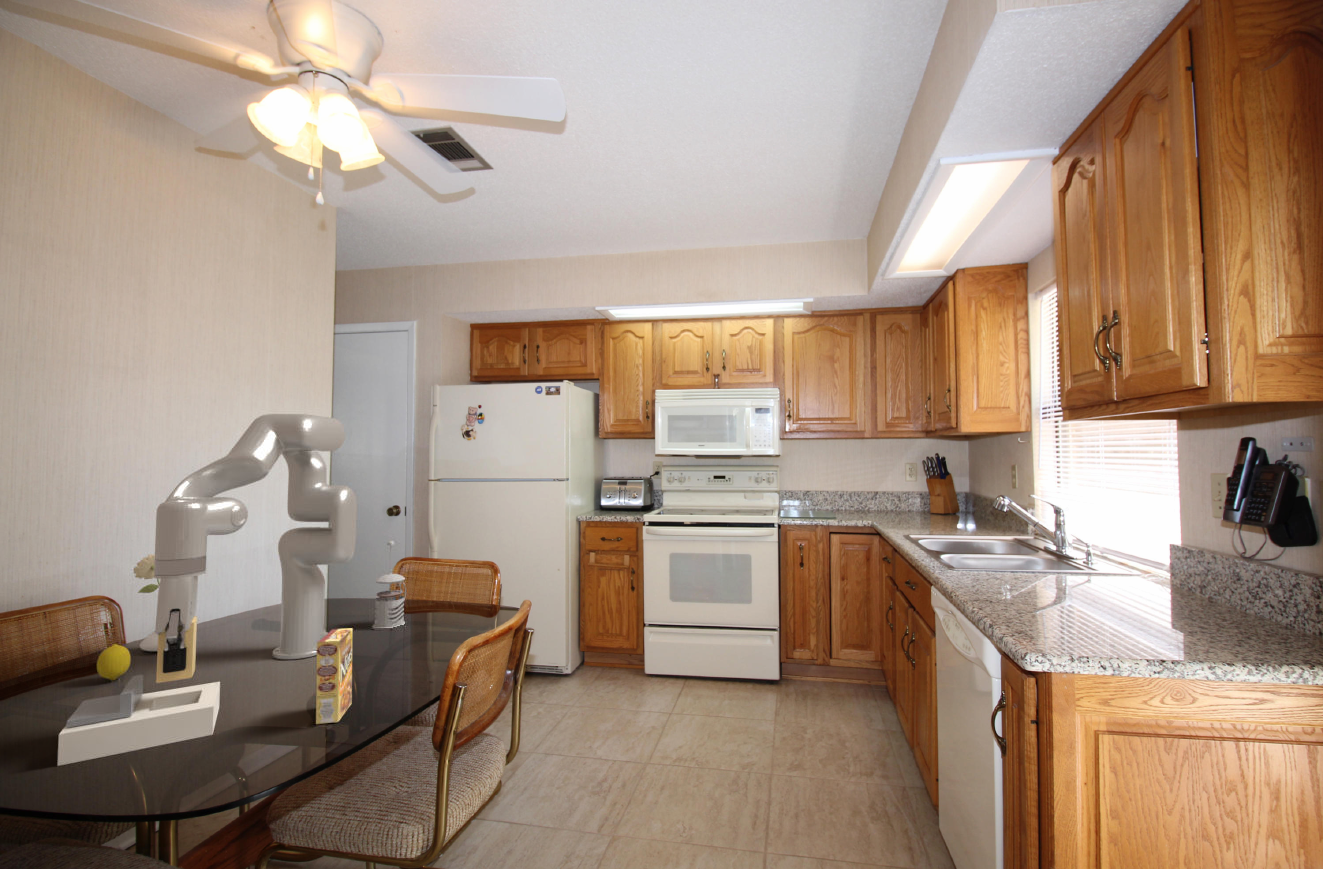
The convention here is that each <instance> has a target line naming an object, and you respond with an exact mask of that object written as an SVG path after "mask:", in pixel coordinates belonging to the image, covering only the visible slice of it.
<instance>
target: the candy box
mask: <svg viewBox="0 0 1323 869" xmlns="http://www.w3.org/2000/svg"><path fill="white" fill-rule="evenodd" d="M352 686H353V628H351V627H350V628H349V627H348V628H335V629H334V628H333V629H331V630H330V631H329V632H328V634H327V635H326V636H325V637H323V638H322V639H321V640H320V641H318V642H317V655H316V688H315V689H316V694H315V695H316V702H315V703H316V704H315V705H316V706H315V724H316V725H320V724H329V723H330V724H332V723H339V721H340V720H341V719H342V717H343V716H344V715H345V714H346V712H347V711H348V709H349V708H350V707H351V705H352V702H353V701H352V700H353V691H352V690H353V687H352Z"/></svg>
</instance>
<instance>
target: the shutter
mask: <svg viewBox="0 0 1323 869" xmlns="http://www.w3.org/2000/svg"><path fill="white" fill-rule="evenodd" d="M143 680H144V674H138V675H133V676H131V677H130V679H129V680H128V682H127V683H126V684H125V686H124V688H123V689H122V691H121V692H120V694H115V695H110V696H105V697H104V696H103V697H97V698H91V699H90V698H89V699H84V700H83V701H82V702H81V703H80V704H79V705H78V707H77V709H75V710H74V712H73V713H72V714H71V716H70V717H69V718H68V719H67V721H66V725H67V728H68V727H73V726H79V725H84V724H90V723H96V722H101V721H107V720H113V719H118V718H124V717H129V716H131V715H132V714H133V712H134V710H135V708H136V706H137V705H138V703H139V701H140V699H141V698H142V694H143V688H144V687H143V685H144V684H143V683H144V682H143Z"/></svg>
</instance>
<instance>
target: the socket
mask: <svg viewBox="0 0 1323 869" xmlns="http://www.w3.org/2000/svg"><path fill="white" fill-rule="evenodd" d="M220 691H221V681H215V682H210V683H203V684H197V685H196V684H195V685H190V686H185V687H179V688H173V689H166V690H160V691H155V692H154V691H153V692H148V693H142V698H141V699H140V701H139V703H138V705H137V706H136V708H135V710H134V712H133V714H132V715H131V716H129V717H124V718H118V719H113V720H107V721H101V722H96V723H90V724H84V725H79V726H73V727H68V728H67V724H66V725H65V726H64V727H63V728H62V730H61V731H60V733H58V745H57V746H58V748H57V767H59V766H60V767H61V766H64V765H69V764H74V763H79V762H83V761H89V760H95V759H98V758H104V757H109V756H114V755H119V754H124V753H128V752H129V753H130V752H134V751H139V750H144V749H147V748H153V747H154V748H155V747H158V746H163V745H167V744H169V745H170V744H172V743H177V742H183V741H188V740H193V739H197V738H198V739H199V738H203V737H207V736H213V734H214V730H215V726H216V722H217V719H218V714H219V710H220V698H221V697H220V695H221V694H220V693H221V692H220Z"/></svg>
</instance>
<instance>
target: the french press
mask: <svg viewBox="0 0 1323 869" xmlns="http://www.w3.org/2000/svg"><path fill="white" fill-rule="evenodd" d="M394 545H395V541H394V540H390V541H388V542H387V546H389V548H390V549H389V550H390V552H389V557H390V558H389V560H390V561H389V573H386V574H383V575H380V576H379V577H377V578H376V579H375V580H374V581H375V583H377V584H388V585H389V586H391V585H392V584H394V585H395V587H399V589H400V590H398V589H396V590H391V589H389V590H383V591H379V592H377V593H376V596H377V597H376V598H375V601H374V602H375V603H374V604H375V605H374V607H375V609H374V624H373V625H372V626H373V627H374V628H393V627H397V626H400V625H404V624H405V622H406V621H405V620H404V619H405V618H404V617H405V616H404V614H405V611H404V610H405V609H404V606H405V600H406V597H407V588H406V584H405V582H404V581H405V580H406V578H405V577H404V576H403V575H401V574H398V573H392V563H391V562H392V546H394ZM402 583H403V587H404V592H403V590H402V587H401V585H402ZM397 584H398V585H397ZM403 593H404V595H403ZM397 597H398V599H397Z"/></svg>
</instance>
